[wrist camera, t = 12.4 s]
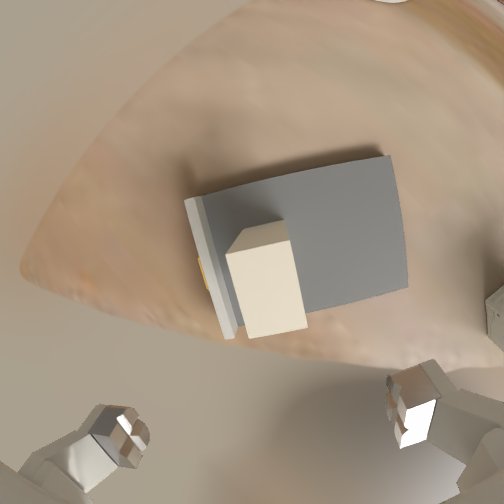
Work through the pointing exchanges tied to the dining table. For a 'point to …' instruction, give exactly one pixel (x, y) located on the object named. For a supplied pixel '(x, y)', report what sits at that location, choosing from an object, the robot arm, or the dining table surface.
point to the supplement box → (496, 317)
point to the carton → (266, 280)
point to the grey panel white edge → (309, 233)
